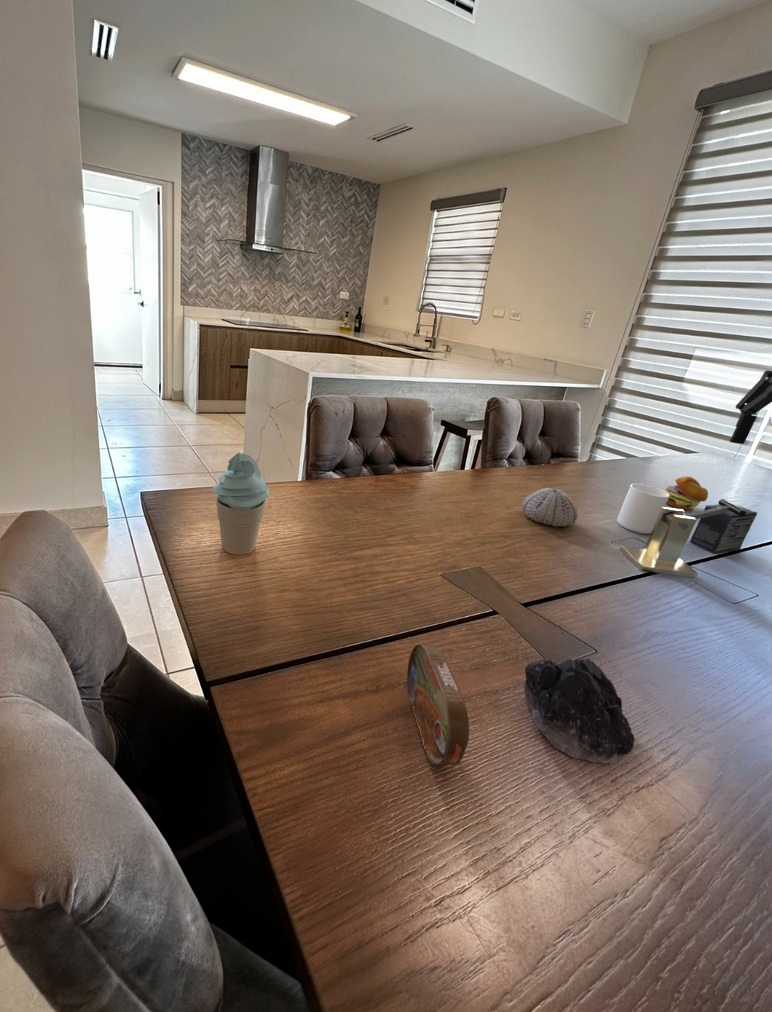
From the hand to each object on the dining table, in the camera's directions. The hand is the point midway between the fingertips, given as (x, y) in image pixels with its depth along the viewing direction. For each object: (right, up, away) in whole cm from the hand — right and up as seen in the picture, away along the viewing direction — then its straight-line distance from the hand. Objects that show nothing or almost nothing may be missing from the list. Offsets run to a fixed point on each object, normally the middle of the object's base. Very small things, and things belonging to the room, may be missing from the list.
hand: (759, 452), depth 102 cm
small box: (+4, -23, +17) cm, 29 cm away
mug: (-11, -18, +24) cm, 32 cm away
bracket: (-19, -25, +5) cm, 32 cm away
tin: (-82, -38, -43) cm, 100 cm away
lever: (-13, -15, 0) cm, 19 cm away
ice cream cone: (-112, -19, -9) cm, 114 cm away
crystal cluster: (-62, -39, -40) cm, 84 cm away
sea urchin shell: (-36, -16, +21) cm, 45 cm away
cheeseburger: (+15, -13, +43) cm, 47 cm away
